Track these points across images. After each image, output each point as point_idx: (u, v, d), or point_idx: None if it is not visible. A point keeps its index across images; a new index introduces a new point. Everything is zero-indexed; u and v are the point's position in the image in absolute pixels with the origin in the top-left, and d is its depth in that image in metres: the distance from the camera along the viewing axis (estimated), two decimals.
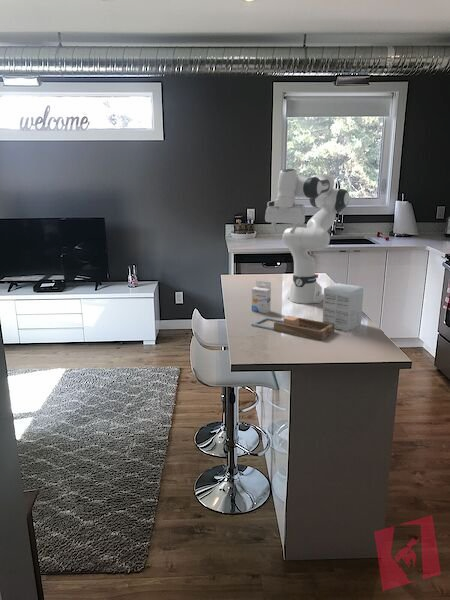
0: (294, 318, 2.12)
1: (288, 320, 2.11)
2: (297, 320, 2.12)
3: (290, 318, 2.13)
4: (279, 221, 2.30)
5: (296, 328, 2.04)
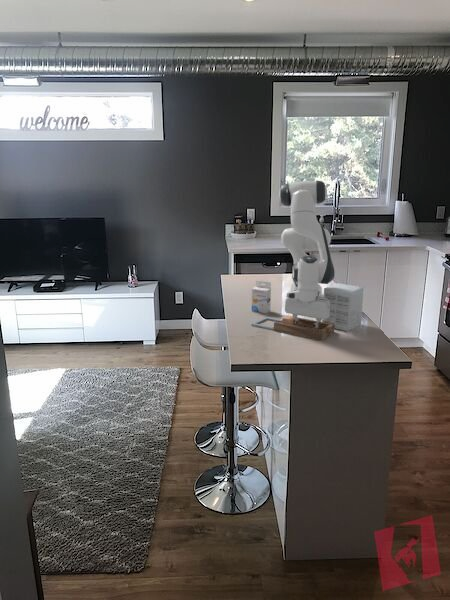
0: None
1: (287, 319, 2.11)
2: None
3: (288, 317, 2.13)
4: (301, 314, 2.07)
5: (296, 328, 2.04)
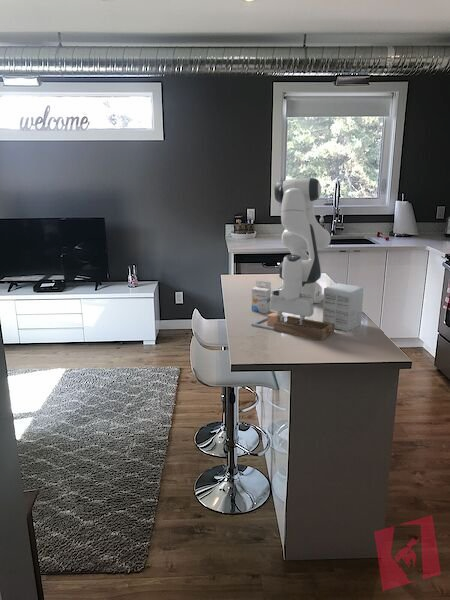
0: (277, 315, 2.17)
1: (272, 317, 2.15)
2: None
3: (273, 314, 2.17)
4: (285, 311, 2.12)
5: (296, 328, 2.04)
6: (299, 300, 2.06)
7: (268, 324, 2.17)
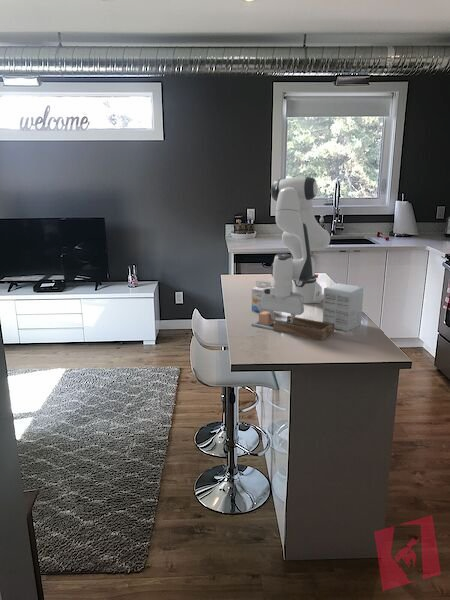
0: (269, 313, 2.19)
1: (263, 315, 2.18)
2: None
3: (265, 313, 2.20)
4: (276, 309, 2.14)
5: (296, 328, 2.04)
6: (290, 298, 2.09)
7: (260, 322, 2.20)
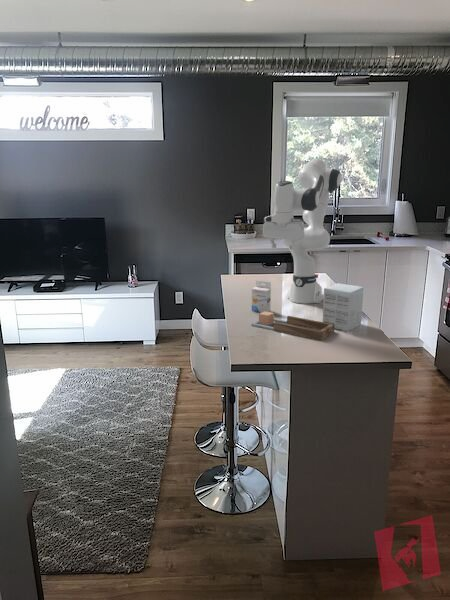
0: (269, 313, 2.19)
1: (263, 315, 2.18)
2: (272, 315, 2.19)
3: (265, 313, 2.20)
4: (277, 237, 2.20)
5: (296, 328, 2.04)
6: (290, 224, 2.14)
7: (260, 323, 2.20)
